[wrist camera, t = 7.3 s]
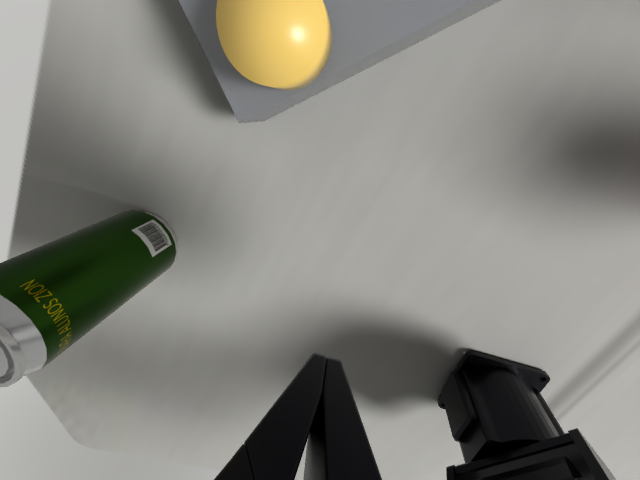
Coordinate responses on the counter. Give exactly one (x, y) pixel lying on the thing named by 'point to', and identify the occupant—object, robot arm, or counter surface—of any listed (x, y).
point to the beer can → (76, 286)
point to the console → (346, 51)
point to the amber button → (275, 40)
